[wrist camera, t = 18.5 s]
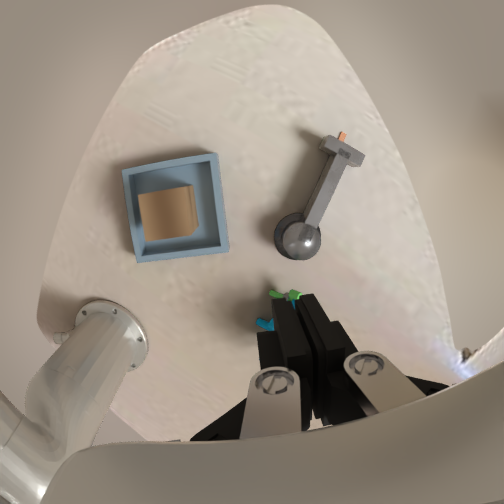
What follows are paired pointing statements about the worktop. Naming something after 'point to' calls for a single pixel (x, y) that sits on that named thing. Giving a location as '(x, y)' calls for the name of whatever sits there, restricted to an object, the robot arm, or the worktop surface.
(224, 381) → the worktop surface
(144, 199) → the block
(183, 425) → the worktop surface
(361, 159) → the lever
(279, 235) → the pivot base
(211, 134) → the worktop surface
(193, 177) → the tray
